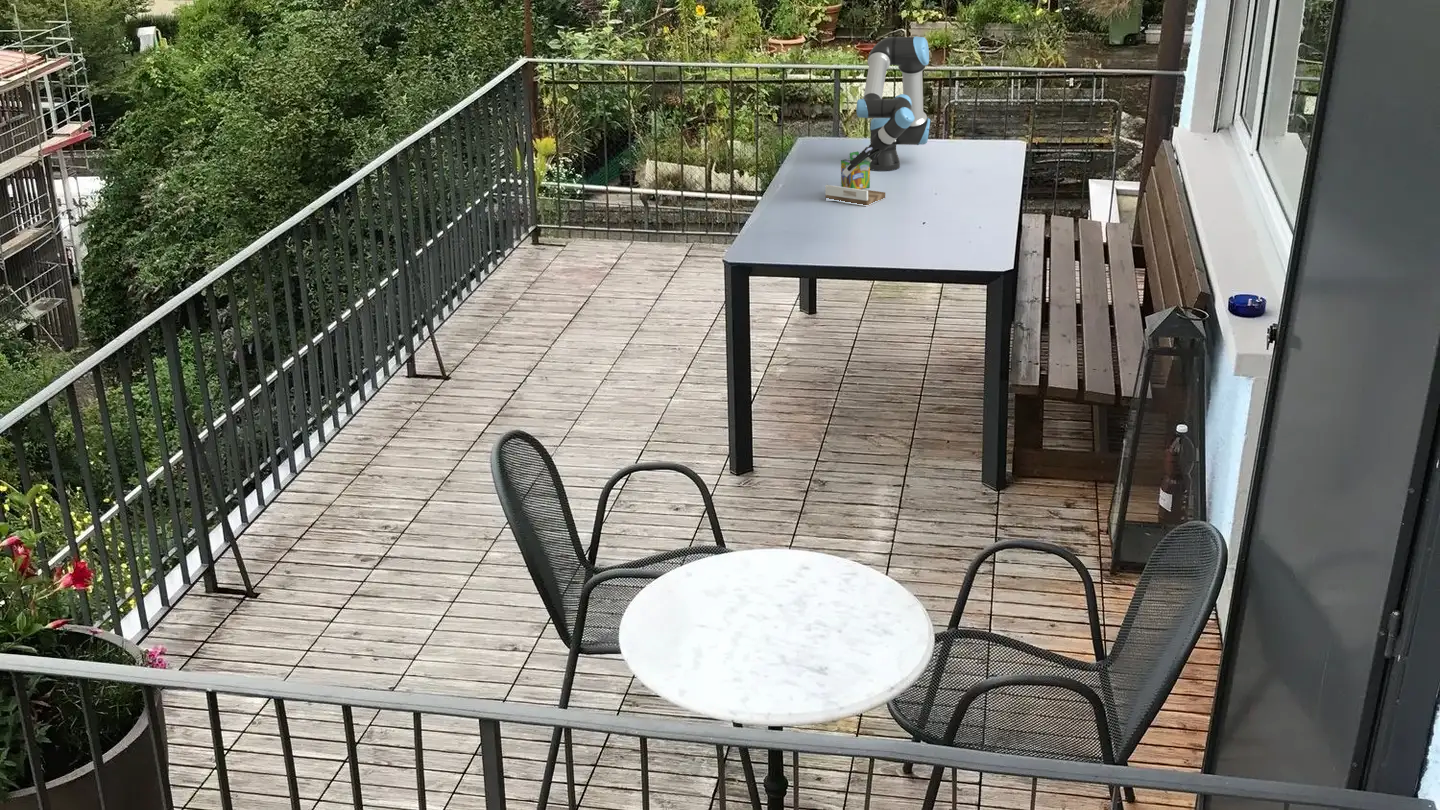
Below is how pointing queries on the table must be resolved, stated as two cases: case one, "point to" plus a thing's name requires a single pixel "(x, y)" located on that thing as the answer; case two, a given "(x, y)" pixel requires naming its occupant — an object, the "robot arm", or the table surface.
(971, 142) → the table surface
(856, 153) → the chalk box
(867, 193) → the shelf board
